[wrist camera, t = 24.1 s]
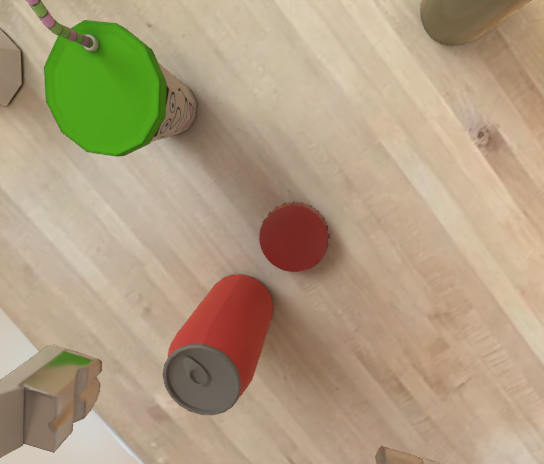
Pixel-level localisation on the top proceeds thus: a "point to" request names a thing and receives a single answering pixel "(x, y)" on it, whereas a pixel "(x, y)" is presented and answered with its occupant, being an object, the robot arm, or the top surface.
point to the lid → (294, 237)
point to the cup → (111, 88)
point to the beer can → (219, 346)
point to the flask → (9, 69)
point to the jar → (464, 18)
